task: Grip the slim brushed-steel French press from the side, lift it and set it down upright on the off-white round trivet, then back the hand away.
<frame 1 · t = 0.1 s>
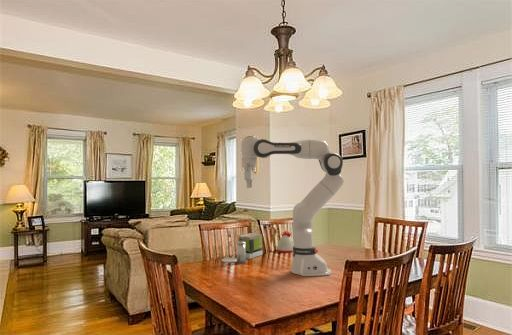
hand: (249, 187, 199), 48 cm above the table, tool pointing down, fingers open, 8 cm apart
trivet: (229, 260, 223), on the table
kitchen timer: (286, 251, 254), on the table
tea box: (250, 256, 236), on the table
french press: (241, 262, 218), on the table
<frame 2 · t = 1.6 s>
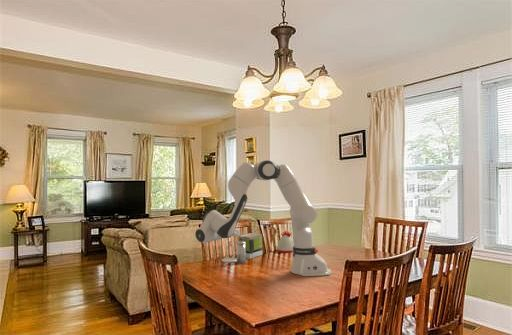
hand: (230, 229, 208), 22 cm above the table, tool horizontal, fingers open, 8 cm apart
nothing on the table moved.
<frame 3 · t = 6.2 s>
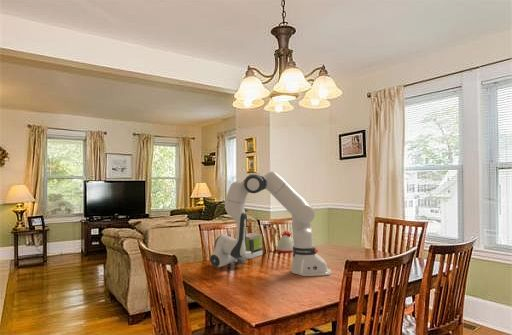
hand: (241, 251, 219), 7 cm above the table, tool horizontal, fingers closed on french press, 6 cm apart
french press: (241, 262, 218), on the table, touching gripper
everything else where it was.
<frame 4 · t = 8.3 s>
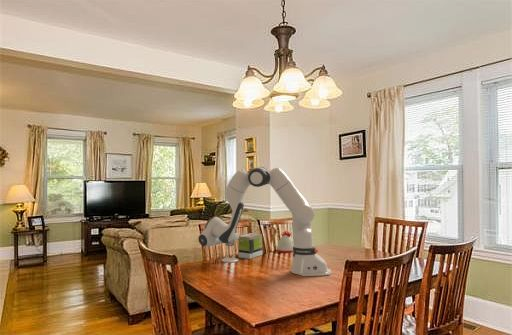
hand: (230, 233, 225), 17 cm above the table, tool horizontal, fingers closed on french press, 6 cm apart
french press: (229, 245, 223), point 10 cm above the table, touching gripper
everything else where it was.
when the fingers open (9 cm above the table, at t = 10.7 s): french press stays where it is, resting on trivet.
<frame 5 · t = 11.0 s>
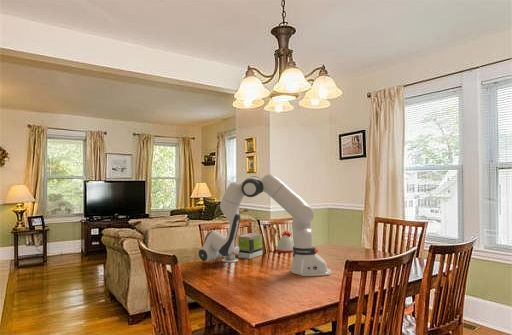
hand: (230, 246, 224), 9 cm above the table, tool horizontal, fingers open, 8 cm apart
french press: (229, 259, 223), point 1 cm above the table, touching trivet
everything else where it was.
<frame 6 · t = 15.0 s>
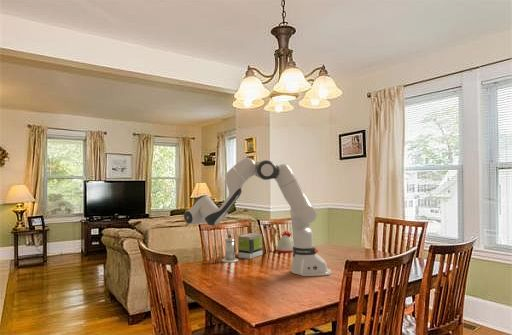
hand: (219, 213, 214), 32 cm above the table, tool horizontal, fingers open, 8 cm apart
nothing on the table moved.
at the end: french press 0.1 cm from the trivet (horizontally); french press tilted 0°; the gripper is holding nothing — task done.
